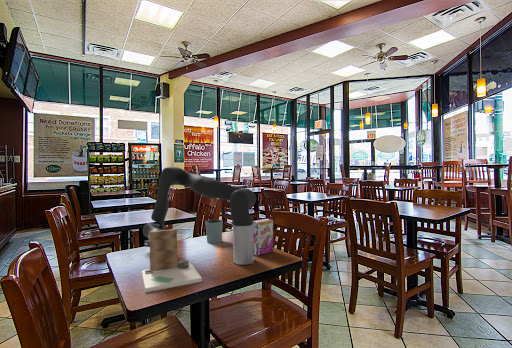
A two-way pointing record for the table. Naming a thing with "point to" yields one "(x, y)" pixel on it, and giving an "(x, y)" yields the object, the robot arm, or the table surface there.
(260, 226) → the candy bar box
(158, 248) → the brown flat streaked slab
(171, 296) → the table surface
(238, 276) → the table surface
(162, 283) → the plate
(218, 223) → the grey-blue bumpy cylinder
